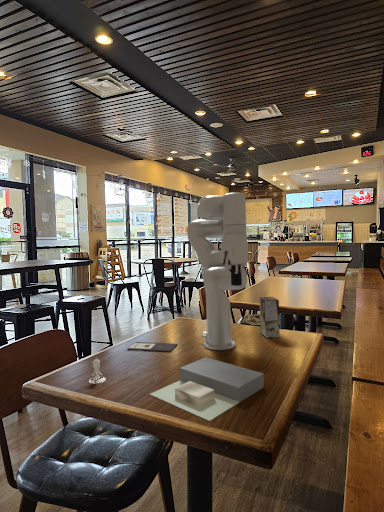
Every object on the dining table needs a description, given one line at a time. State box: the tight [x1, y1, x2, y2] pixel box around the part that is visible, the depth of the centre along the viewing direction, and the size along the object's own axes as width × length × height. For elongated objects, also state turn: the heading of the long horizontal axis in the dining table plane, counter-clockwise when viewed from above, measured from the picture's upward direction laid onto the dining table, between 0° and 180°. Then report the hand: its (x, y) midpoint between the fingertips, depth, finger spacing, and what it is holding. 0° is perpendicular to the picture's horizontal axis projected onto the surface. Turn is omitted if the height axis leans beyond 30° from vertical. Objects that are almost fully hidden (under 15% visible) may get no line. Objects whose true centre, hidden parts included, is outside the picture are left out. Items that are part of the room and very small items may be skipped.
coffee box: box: [258, 296, 281, 339], centre depth 150 cm, size 9×6×16 cm
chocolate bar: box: [127, 341, 178, 353], centre depth 138 cm, size 9×1×18 cm
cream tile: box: [175, 381, 215, 407], centre depth 93 cm, size 9×6×2 cm, turn 47°
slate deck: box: [179, 357, 265, 404], centre depth 102 cm, size 22×12×4 cm, turn 47°
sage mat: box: [149, 379, 239, 422], centre depth 93 cm, size 22×12×1 cm, turn 47°
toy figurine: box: [88, 356, 107, 385], centre depth 106 cm, size 5×8×7 cm, turn 175°
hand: (236, 285), depth 116 cm, fingers closed
